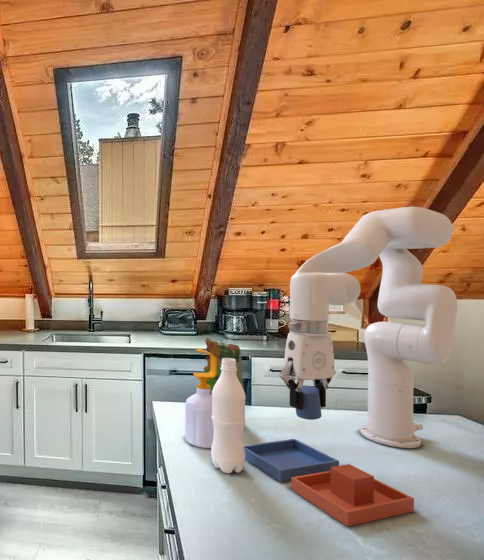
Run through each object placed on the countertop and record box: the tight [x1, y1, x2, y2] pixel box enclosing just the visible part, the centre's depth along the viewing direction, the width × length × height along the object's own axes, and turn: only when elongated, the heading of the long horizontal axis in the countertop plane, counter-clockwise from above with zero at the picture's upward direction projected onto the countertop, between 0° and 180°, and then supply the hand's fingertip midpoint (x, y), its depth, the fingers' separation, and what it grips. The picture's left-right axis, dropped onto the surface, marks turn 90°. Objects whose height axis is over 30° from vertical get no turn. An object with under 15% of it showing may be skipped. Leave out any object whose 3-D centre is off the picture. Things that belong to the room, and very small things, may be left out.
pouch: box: [203, 337, 246, 427], centre depth 114 cm, size 11×12×25 cm
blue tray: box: [244, 438, 340, 483], centre depth 90 cm, size 16×12×2 cm
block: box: [330, 463, 375, 506], centre depth 76 cm, size 5×5×5 cm
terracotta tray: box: [290, 471, 415, 527], centre depth 76 cm, size 16×12×2 cm
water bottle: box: [210, 358, 247, 474], centre depth 88 cm, size 7×7×25 cm
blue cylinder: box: [295, 384, 322, 421], centre depth 88 cm, size 5×5×6 cm
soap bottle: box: [184, 347, 217, 449], centre depth 102 cm, size 9×9×25 cm
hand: (307, 405), depth 88 cm, fingers closed on blue cylinder, 5 cm apart
